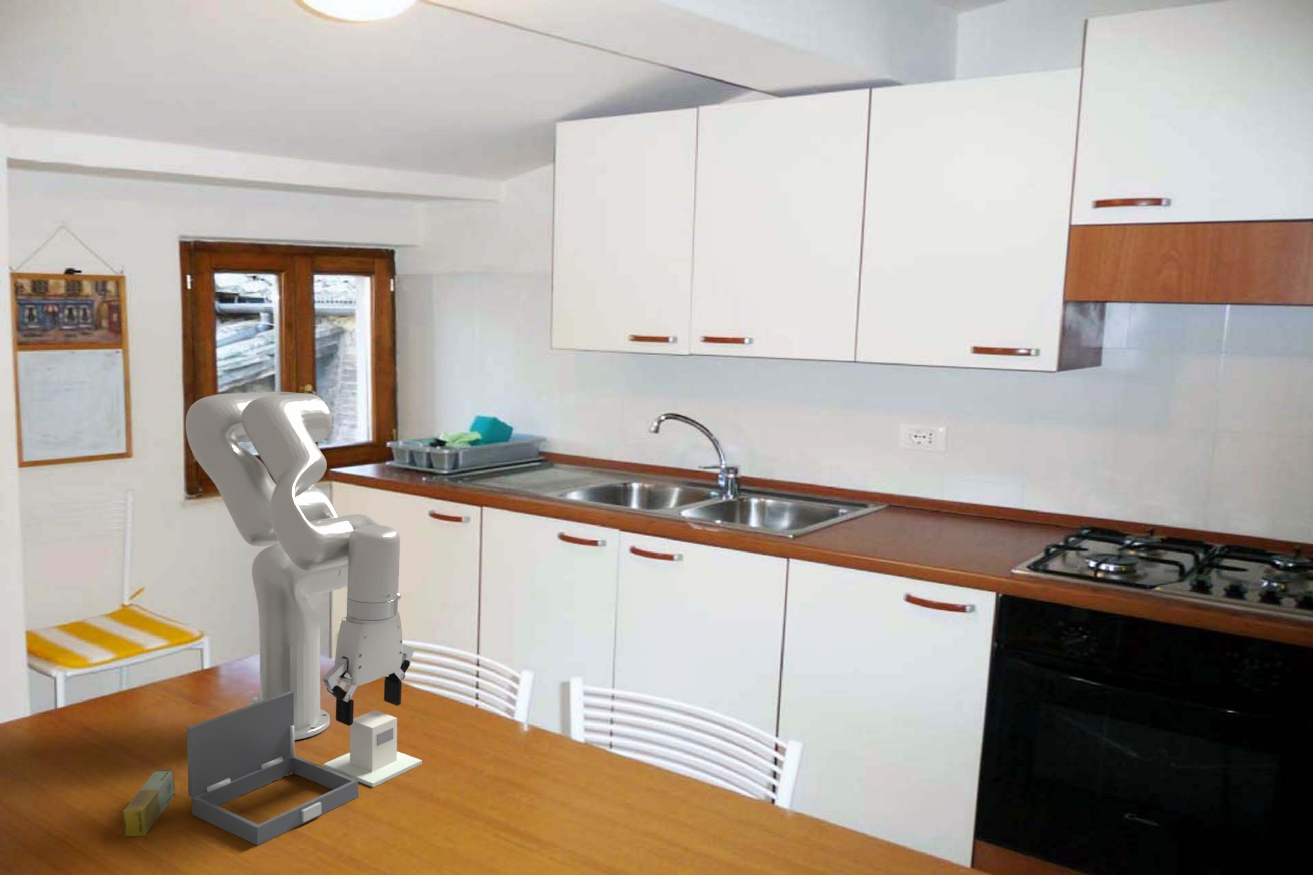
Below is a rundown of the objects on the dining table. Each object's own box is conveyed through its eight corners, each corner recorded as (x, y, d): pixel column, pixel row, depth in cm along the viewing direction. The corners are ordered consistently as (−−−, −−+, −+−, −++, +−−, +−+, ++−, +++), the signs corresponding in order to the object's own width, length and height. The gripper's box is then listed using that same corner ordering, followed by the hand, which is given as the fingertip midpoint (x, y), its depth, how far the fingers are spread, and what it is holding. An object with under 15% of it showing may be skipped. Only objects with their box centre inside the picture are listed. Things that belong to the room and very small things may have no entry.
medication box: (156, 795, 153) (154, 769, 153) (175, 794, 153) (174, 768, 153) (124, 838, 141) (122, 809, 141) (145, 837, 142) (143, 809, 141)
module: (349, 763, 164) (349, 719, 163) (374, 752, 168) (374, 710, 167) (373, 772, 161) (373, 728, 160) (397, 760, 165) (397, 717, 165)
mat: (323, 767, 164) (323, 763, 163) (372, 745, 172) (372, 742, 172) (373, 787, 158) (373, 783, 158) (421, 763, 166) (421, 760, 166)
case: (188, 812, 148) (186, 727, 146) (290, 769, 163) (290, 691, 161) (260, 846, 140) (258, 756, 138) (360, 797, 154) (360, 715, 153)
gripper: (397, 589, 171) (393, 689, 174) (309, 614, 156) (307, 723, 159) (430, 599, 167) (426, 702, 170) (344, 626, 152) (341, 738, 155)
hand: (368, 712), depth 164 cm, fingers open, 9 cm apart
